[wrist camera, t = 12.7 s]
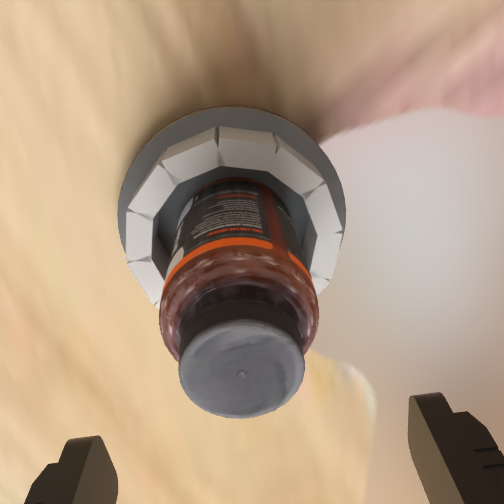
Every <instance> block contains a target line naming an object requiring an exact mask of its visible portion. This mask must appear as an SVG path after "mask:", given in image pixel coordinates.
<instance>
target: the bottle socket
mask: <svg viewBox="0 0 504 504" xmlns="http://www.w3.org/2000/svg"><path fill="white" fill-rule="evenodd" d="M229 177H242V178H249V179H253V180H256V181H258V182H260V183H262V184H264V185H266V186H267V187H269V188H270V189H272V190H273V191H274V192H275V193H276V194H277V195H278V196H279V197H280V198H281V199H282V201H283V202H284V204H285V206H286V207H287V209H288V211H289V213H290V216H291V218H292V221H293V224H294V228H295V230H296V234H297V236H298V239H299V242H300V245H301V248H302V251H303V254H304V257H305V260H306V263H307V266H308V269H309V272H310V275H311V277H312V282H313V285H314V288H315V291H316V295H318V294H319V293H320V292H321V291H322V290H323V289H324V288H325V287H326V286H327V285H328V284H329V283H330V282H329V279H332V276H333V272H334V268H335V264H336V260H337V256H338V252H339V249H340V246H341V242H342V239H343V235H344V230H345V221H346V207H345V198H344V193H343V190H342V186H341V182H340V180H339V177H338V175H337V173H336V171H335V168H334V167H333V165H332V164H331V162H330V160H329V158H328V157H327V156H326V154H325V153H324V152H323V150H322V149H321V148H320V147H319V145H318V144H317V143H316V142H315V141H314V140H313V139H312V138H311V137H310V136H309V135H308V134H307V133H306V132H305V131H304V130H302V129H301V128H299V127H298V126H297V125H295V124H294V123H292V122H291V121H289V120H287V119H285V118H283V117H281V116H279V115H277V114H274V113H271V112H268V111H265V110H262V109H257V108H252V107H246V106H219V107H212V108H207V109H202V110H198V111H196V112H193V113H190V114H187V115H184V116H183V117H181V118H179V119H177V120H175V121H173V122H171V123H170V124H168V125H167V126H165V127H164V128H163V129H161V130H160V131H159V132H157V133H156V134H155V135H154V136H153V137H152V138H151V139H150V140H149V141H148V142H147V143H146V144H145V146H144V147H143V148H142V150H141V151H140V152H139V153H138V155H137V156H136V158H135V160H134V161H133V163H132V165H131V167H130V168H129V170H128V172H127V174H126V177H125V179H124V182H123V184H122V188H121V192H120V196H119V201H118V214H117V215H118V229H119V234H120V238H121V243H122V245H123V248H124V251H125V254H126V260H128V263H127V265H128V267H129V268H130V270H131V272H132V273H133V275H134V276H135V278H136V280H137V281H138V283H139V285H140V286H141V288H142V289H143V291H144V293H145V294H146V296H147V297H148V299H149V301H150V302H151V304H153V303H155V302H156V303H155V307H156V308H157V309H159V310H160V301H161V296H162V291H163V286H164V283H165V278H166V274H167V269H168V264H169V261H170V257H171V253H172V248H173V244H174V239H175V234H176V230H177V226H178V222H179V219H180V216H181V213H182V210H183V208H184V207H185V205H186V203H187V202H188V200H189V199H190V198H191V197H192V196H193V194H194V193H195V192H196V191H198V190H199V189H200V188H201V187H203V186H204V185H207V184H208V183H210V182H213V181H215V180H218V179H223V178H229Z"/></svg>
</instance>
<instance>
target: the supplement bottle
mask: <svg viewBox="0 0 504 504" xmlns="http://www.w3.org/2000/svg"><path fill="white" fill-rule="evenodd" d="M318 319H319V308H318V300H317V295H316V291H315V288H314V285H313V282H312V277H311V275H310V272H309V269H308V266H307V263H306V260H305V257H304V254H303V251H302V248H301V245H300V242H299V239H298V236H297V234H296V230H295V228H294V224H293V221H292V218H291V216H290V213H289V211H288V209H287V207H286V206H285V204H284V202H283V201H282V199H281V198H280V197H279V196H278V195H277V194H276V193H275V192H274V191H273V190H272V189H270V188H269V187H267V186H266V185H264V184H262V183H260V182H258V181H256V180H253V179H249V178H242V177H229V178H223V179H218V180H215V181H213V182H210V183H208V184H207V185H204V186H203V187H201V188H200V189H199V190H198V191H196V192H195V193H194V194H193V196H192V197H191V198H190V199H189V200H188V202H187V203H186V205H185V207H184V208H183V210H182V213H181V216H180V219H179V222H178V226H177V230H176V234H175V239H174V244H173V248H172V253H171V257H170V261H169V264H168V269H167V274H166V278H165V283H164V286H163V291H162V296H161V301H160V311H159V325H160V330H161V335H162V337H163V341H164V344H165V345H166V347H167V349H168V350H169V352H170V354H171V355H172V356H173V357H174V359H175V360H176V361H178V362H179V378H180V383H181V385H182V388H183V390H184V391H185V393H186V395H187V396H188V397H189V398H190V399H191V400H192V401H193V402H194V403H195V404H196V405H198V406H199V407H200V408H202V409H203V410H205V411H207V412H210V413H212V414H214V415H218V416H222V417H225V418H237V419H244V418H253V417H257V416H260V415H263V414H266V413H269V412H272V411H275V410H276V409H277V408H279V407H281V406H282V405H284V404H285V403H287V402H288V401H289V400H290V399H291V398H292V396H293V395H294V394H295V393H296V392H297V391H298V389H299V387H300V385H301V383H302V381H303V376H304V371H305V361H304V355H305V353H306V352H307V351H308V349H309V348H310V347H311V344H312V342H313V340H314V337H315V334H316V332H317V328H318Z"/></svg>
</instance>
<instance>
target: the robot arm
mask: <svg viewBox="0 0 504 504" xmlns="http://www.w3.org/2000/svg"><path fill="white" fill-rule="evenodd" d="M408 443H409V448H410V453H411V456H412V459H413V462H414V465H415V467H416V470H417V472H418V475H419V477H420V480H421V482H422V485H423V487H424V490H425V492H426V495H427V497H428V500H429V502H430V504H504V456H503V454H502V452H501V451H499V449H498V446H497V444H496V443H495V441H494V439H493V438H492V436H491V434H490V433H489V431H488V429H487V428H486V427H485V426H484V425H483V424H482V423H481V422H479V421H478V420H477V419H476V418H475V417H473V416H472V415H471V414H470V413H469V412H467V411H466V412H458V413H453V412H452V410H451V408H450V406H449V404H448V402H447V401H446V399H445V397H444V396H443V394H442V393H439V392H437V393H429V394H422V395H414V396H410V398H409V416H408ZM117 495H118V478H117V473H116V470H115V468H114V466H113V463H112V461H111V459H110V456H109V454H108V452H107V449H106V447H105V444H104V442H103V440H102V438H101V437H100V436H90V437H83V438H75V439H70V440H68V441H67V443H66V444H65V446H64V449H63V451H62V454H61V457H60V459H59V462H58V463H52V464H48V465H47V466H46V467H45V469H44V470H43V471H42V472H41V474H40V475H39V476H38V477H37V479H36V480H35V481H34V482H33V484H32V486H31V488H30V491H29V493H28V495H27V498H26V500H25V503H24V504H116V501H117Z"/></svg>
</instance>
